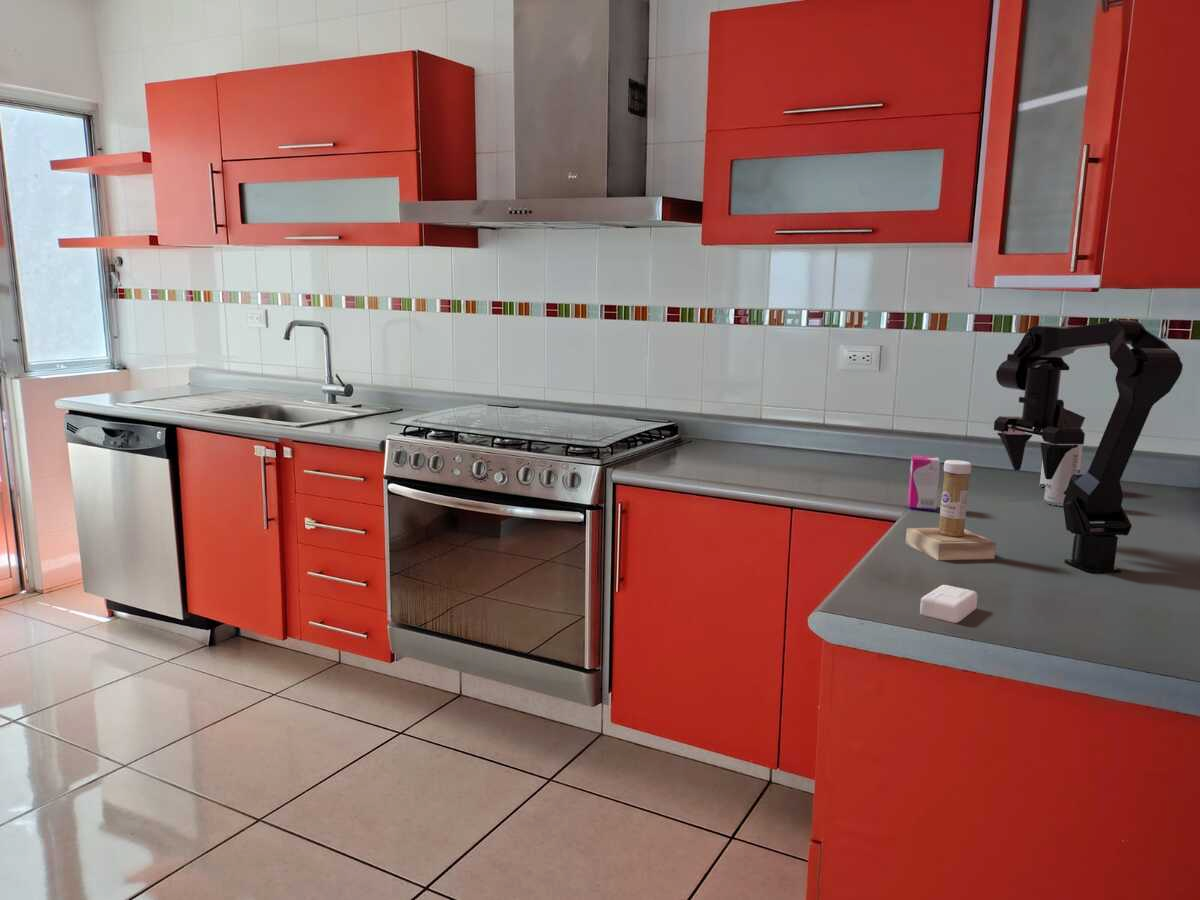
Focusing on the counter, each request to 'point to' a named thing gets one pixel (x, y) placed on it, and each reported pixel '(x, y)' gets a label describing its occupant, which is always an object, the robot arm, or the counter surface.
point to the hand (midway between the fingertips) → (1032, 474)
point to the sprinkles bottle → (954, 498)
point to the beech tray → (950, 544)
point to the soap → (948, 603)
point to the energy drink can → (1062, 477)
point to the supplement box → (923, 483)
